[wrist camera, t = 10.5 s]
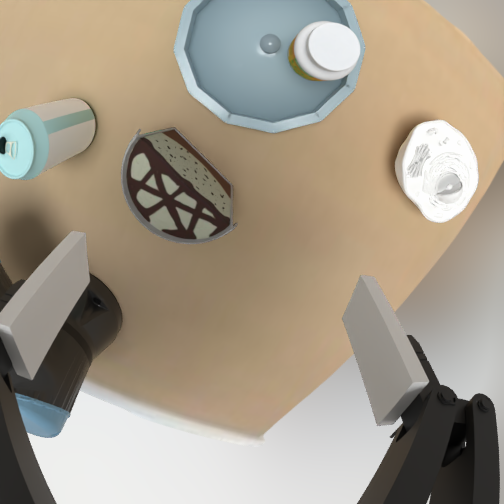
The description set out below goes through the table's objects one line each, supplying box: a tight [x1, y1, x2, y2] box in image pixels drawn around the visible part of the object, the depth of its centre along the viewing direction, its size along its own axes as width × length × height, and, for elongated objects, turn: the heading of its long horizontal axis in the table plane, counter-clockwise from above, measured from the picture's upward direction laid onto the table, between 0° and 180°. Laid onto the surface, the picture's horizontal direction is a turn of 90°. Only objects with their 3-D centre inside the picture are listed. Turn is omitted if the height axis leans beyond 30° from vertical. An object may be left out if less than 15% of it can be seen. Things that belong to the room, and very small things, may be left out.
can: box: [0, 98, 95, 180], centre depth 26 cm, size 7×7×12 cm
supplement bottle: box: [288, 21, 360, 81], centre depth 23 cm, size 5×5×10 cm
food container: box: [121, 127, 237, 244], centre depth 30 cm, size 12×6×10 cm, turn 42°
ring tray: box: [174, 0, 365, 133], centre depth 26 cm, size 18×18×3 cm
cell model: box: [395, 120, 479, 223], centre depth 30 cm, size 10×12×7 cm
